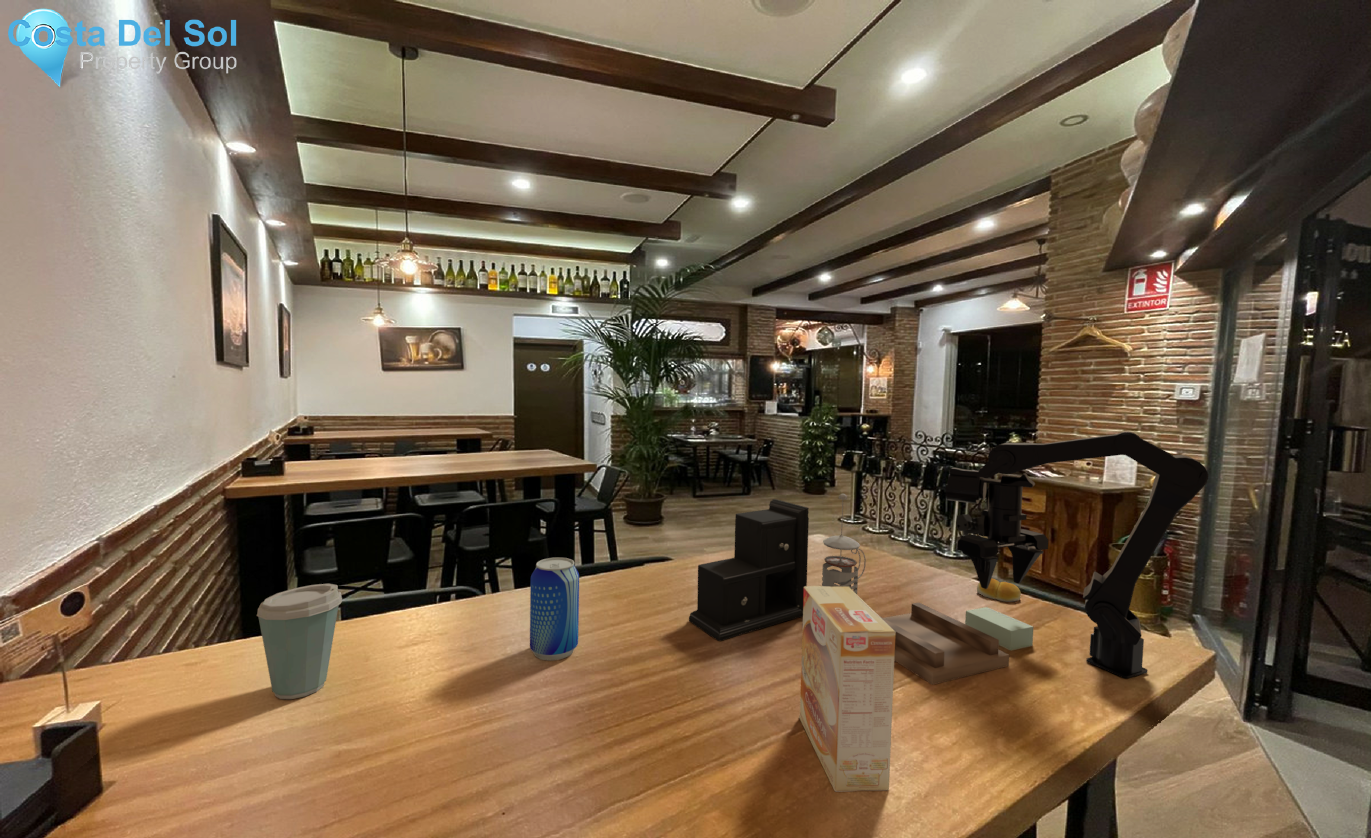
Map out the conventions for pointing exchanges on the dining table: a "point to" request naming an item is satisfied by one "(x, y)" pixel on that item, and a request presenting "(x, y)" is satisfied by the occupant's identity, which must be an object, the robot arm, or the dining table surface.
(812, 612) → the coffeecake box
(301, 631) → the disposable coffee cup
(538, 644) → the beer can
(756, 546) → the black drawer cabinet
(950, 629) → the brown wooden stand
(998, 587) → the bread roll
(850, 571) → the french press
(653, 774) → the dining table surface
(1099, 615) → the robot arm
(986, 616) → the pale green block
